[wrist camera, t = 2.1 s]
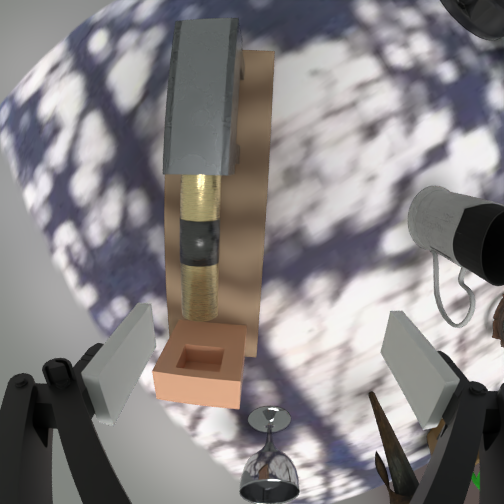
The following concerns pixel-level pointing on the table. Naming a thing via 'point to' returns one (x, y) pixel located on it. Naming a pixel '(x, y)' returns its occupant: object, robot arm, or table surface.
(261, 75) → the base board
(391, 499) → the decorative torch
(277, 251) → the table surface
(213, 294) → the tube
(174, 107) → the grey bridge block
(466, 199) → the glass holder
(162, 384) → the socket block
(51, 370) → the robot arm
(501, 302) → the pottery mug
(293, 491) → the wine glass
